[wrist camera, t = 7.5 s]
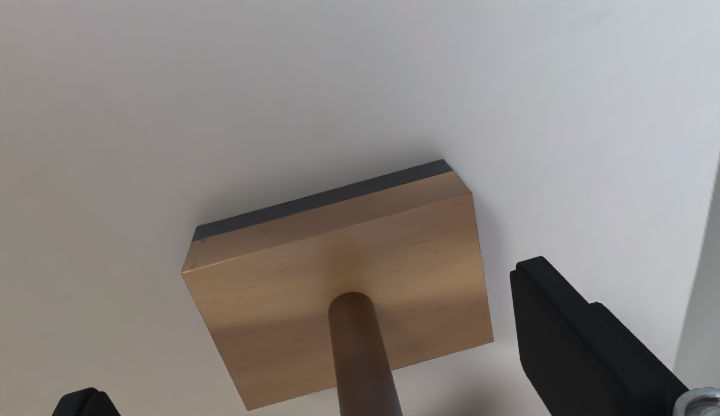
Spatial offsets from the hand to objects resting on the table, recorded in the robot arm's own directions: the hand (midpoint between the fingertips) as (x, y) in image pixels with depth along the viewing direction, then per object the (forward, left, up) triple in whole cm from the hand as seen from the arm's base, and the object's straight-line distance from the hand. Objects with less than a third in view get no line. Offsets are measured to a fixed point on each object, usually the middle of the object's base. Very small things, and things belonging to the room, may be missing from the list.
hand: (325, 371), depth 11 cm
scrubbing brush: (0, -1, -7) cm, 7 cm away
